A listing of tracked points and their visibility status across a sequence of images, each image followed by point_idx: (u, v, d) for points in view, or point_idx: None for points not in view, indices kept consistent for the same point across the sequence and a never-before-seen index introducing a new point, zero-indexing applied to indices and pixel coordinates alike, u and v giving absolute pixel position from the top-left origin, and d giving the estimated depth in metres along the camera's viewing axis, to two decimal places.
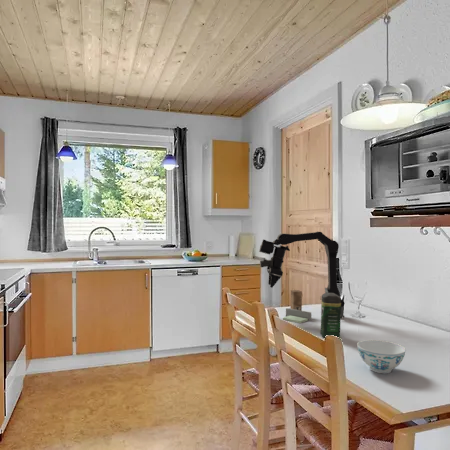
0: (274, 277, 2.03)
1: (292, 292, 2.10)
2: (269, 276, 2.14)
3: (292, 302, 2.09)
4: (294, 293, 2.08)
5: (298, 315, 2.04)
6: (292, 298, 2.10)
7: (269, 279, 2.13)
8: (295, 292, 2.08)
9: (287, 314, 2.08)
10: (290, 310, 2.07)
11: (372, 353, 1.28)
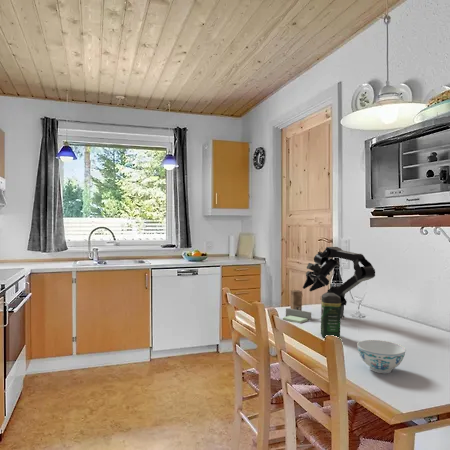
0: (318, 283, 2.06)
1: (292, 292, 2.10)
2: (307, 281, 2.17)
3: (292, 302, 2.09)
4: (294, 293, 2.08)
5: (298, 315, 2.04)
6: (292, 298, 2.10)
7: (305, 283, 2.16)
8: (295, 292, 2.08)
9: (287, 314, 2.08)
10: (290, 310, 2.07)
11: (372, 353, 1.28)
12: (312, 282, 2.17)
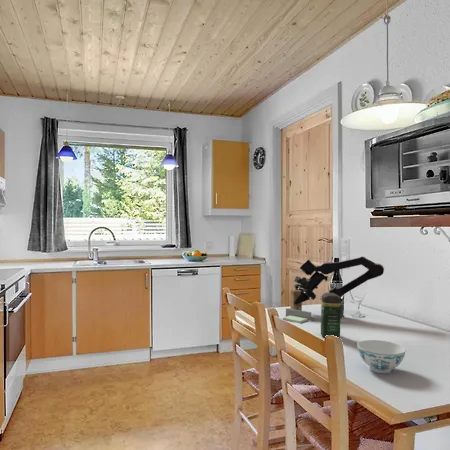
0: (303, 296, 2.08)
1: (292, 292, 2.10)
2: None
3: (292, 302, 2.09)
4: (294, 293, 2.08)
5: (298, 315, 2.04)
6: (292, 298, 2.10)
7: None
8: (295, 292, 2.08)
9: (287, 314, 2.08)
10: (290, 310, 2.07)
11: (372, 353, 1.28)
12: None
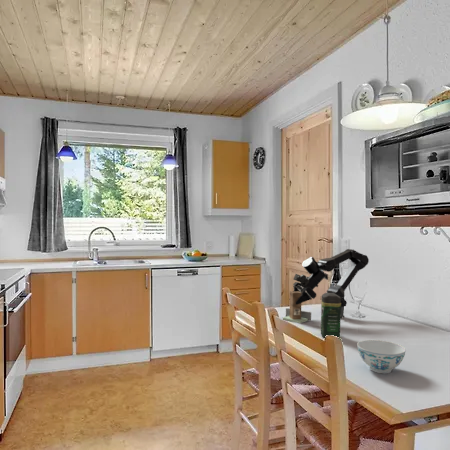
0: (304, 296, 1.95)
1: (291, 293, 2.00)
2: None
3: (291, 304, 1.99)
4: (293, 294, 1.98)
5: None
6: (291, 300, 1.99)
7: None
8: (294, 294, 1.98)
9: (287, 314, 2.08)
10: None
11: (372, 353, 1.28)
12: None
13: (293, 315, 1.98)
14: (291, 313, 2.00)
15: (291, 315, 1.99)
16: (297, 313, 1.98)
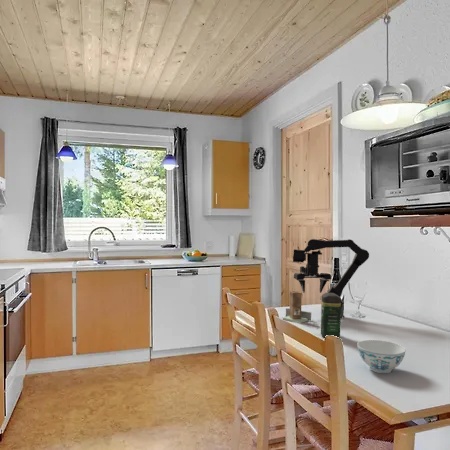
0: (301, 282, 2.10)
1: (291, 293, 2.00)
2: (320, 284, 2.13)
3: (291, 304, 1.99)
4: (293, 294, 1.98)
5: None
6: (291, 300, 1.99)
7: None
8: (294, 294, 1.98)
9: (287, 314, 2.08)
10: None
11: (372, 353, 1.28)
12: (322, 281, 2.10)
13: (293, 315, 1.98)
14: (291, 313, 2.00)
15: (291, 315, 1.99)
16: (297, 313, 1.98)
